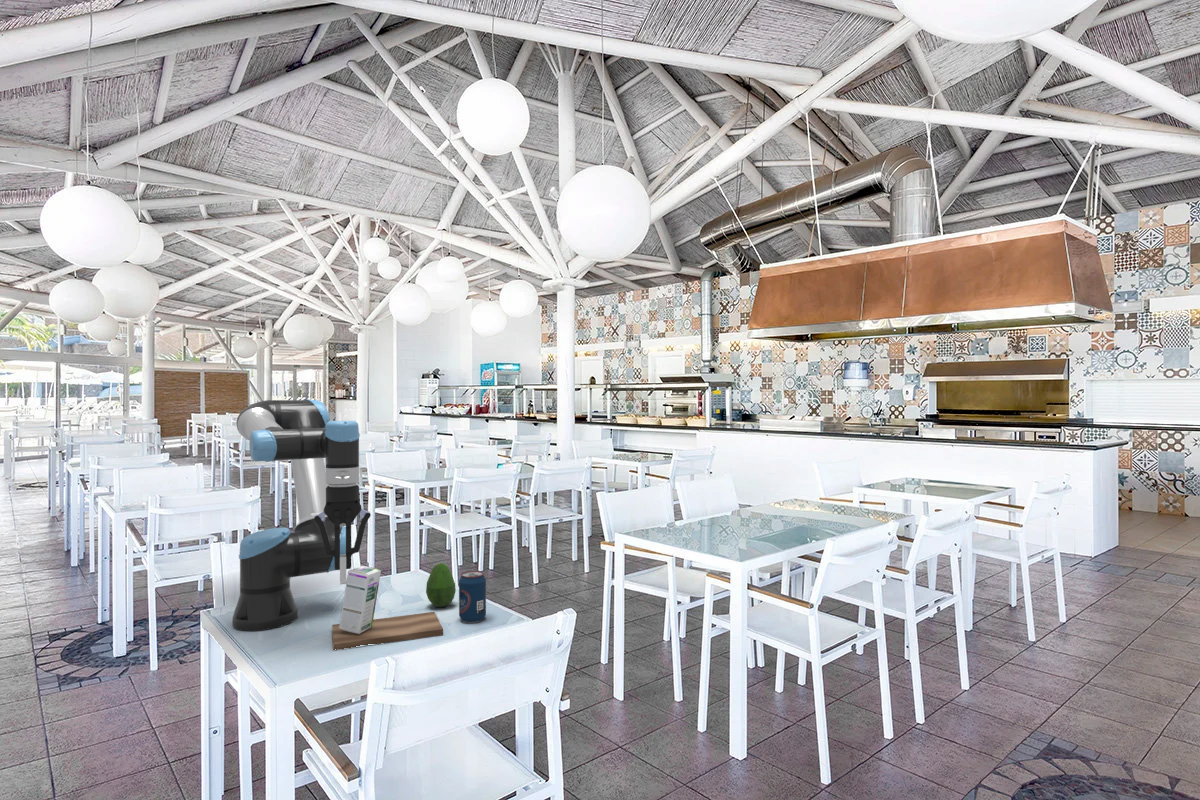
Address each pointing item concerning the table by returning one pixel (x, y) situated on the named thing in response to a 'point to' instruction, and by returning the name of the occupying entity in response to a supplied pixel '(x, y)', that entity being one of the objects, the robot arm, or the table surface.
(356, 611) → the syrup box
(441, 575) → the avocado
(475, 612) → the soda can
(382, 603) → the table surface
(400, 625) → the walnut board
